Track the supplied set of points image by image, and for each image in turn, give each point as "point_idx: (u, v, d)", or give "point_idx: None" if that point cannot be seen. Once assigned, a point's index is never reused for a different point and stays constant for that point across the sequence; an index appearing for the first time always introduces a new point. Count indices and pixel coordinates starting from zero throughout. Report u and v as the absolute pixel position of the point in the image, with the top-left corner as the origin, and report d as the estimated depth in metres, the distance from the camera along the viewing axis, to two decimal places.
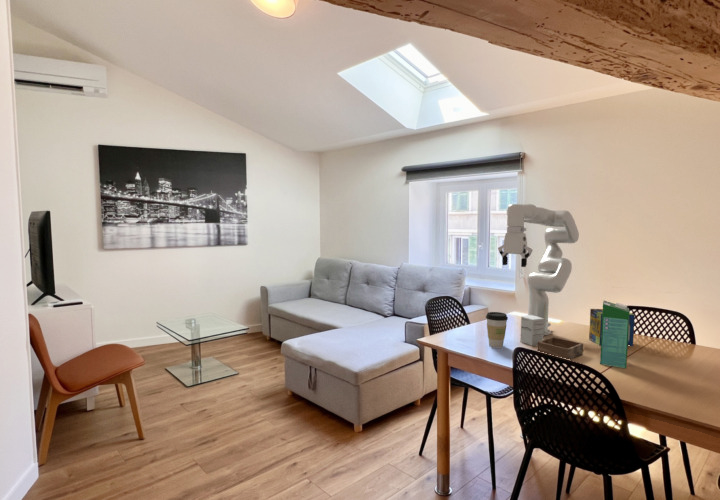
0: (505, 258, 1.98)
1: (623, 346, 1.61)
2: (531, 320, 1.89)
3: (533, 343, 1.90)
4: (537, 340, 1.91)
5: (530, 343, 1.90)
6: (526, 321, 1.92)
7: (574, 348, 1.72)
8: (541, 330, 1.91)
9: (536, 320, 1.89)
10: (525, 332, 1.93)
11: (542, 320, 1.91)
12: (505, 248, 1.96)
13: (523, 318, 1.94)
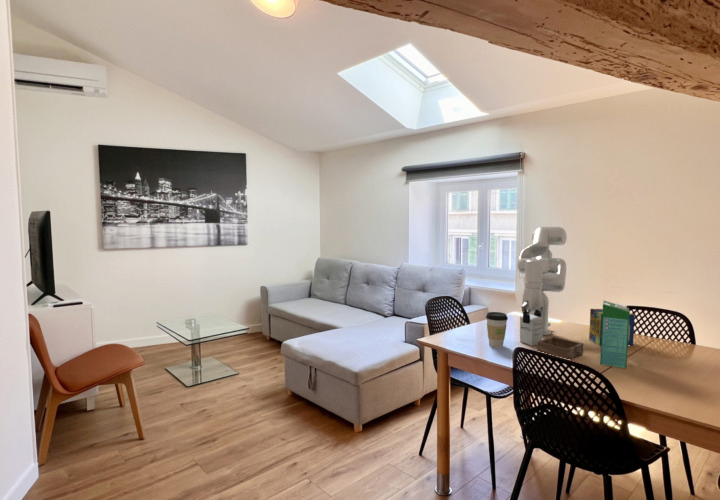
0: None
1: (623, 346, 1.61)
2: (530, 320, 1.89)
3: (533, 343, 1.90)
4: (537, 340, 1.91)
5: (530, 343, 1.90)
6: None
7: (574, 348, 1.72)
8: (540, 329, 1.91)
9: (535, 320, 1.89)
10: (524, 332, 1.93)
11: (541, 319, 1.91)
12: (532, 305, 1.88)
13: (522, 318, 1.93)
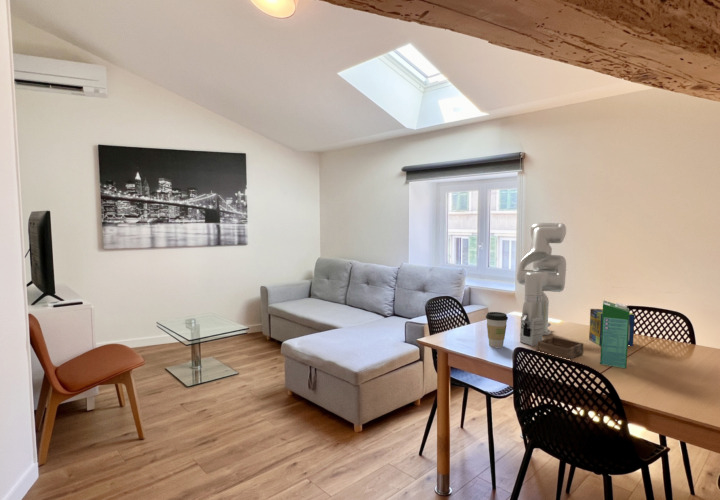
0: None
1: (623, 346, 1.61)
2: None
3: (533, 343, 1.90)
4: (537, 340, 1.91)
5: (531, 343, 1.90)
6: None
7: (574, 348, 1.72)
8: (541, 330, 1.91)
9: (536, 320, 1.89)
10: None
11: (542, 320, 1.91)
12: (532, 318, 1.89)
13: None
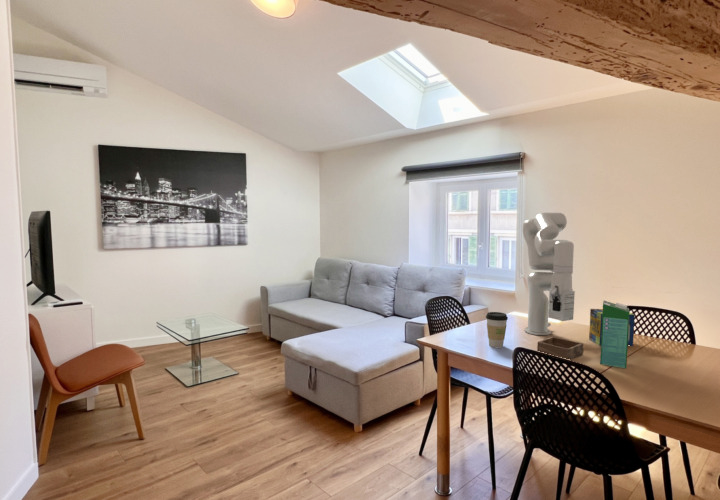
0: None
1: (623, 346, 1.61)
2: (562, 293, 1.73)
3: (564, 318, 1.73)
4: (568, 315, 1.74)
5: (561, 318, 1.73)
6: None
7: (574, 348, 1.72)
8: (572, 304, 1.75)
9: (567, 293, 1.73)
10: None
11: (573, 293, 1.75)
12: (563, 291, 1.73)
13: None
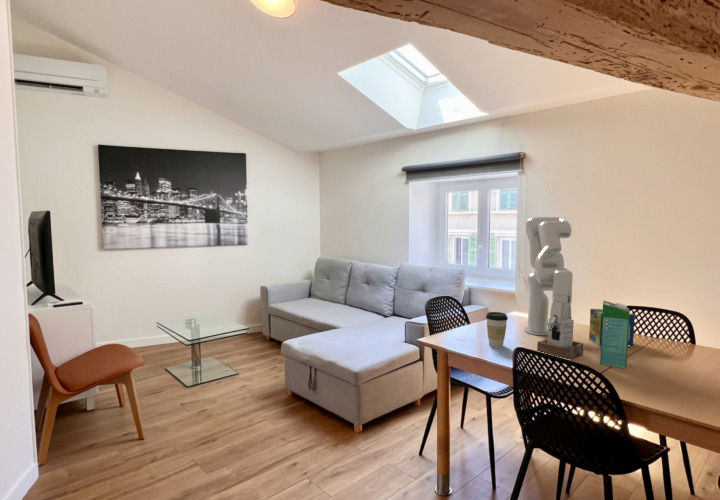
0: None
1: (623, 346, 1.61)
2: (561, 322, 1.73)
3: (563, 347, 1.74)
4: (567, 344, 1.75)
5: None
6: None
7: (574, 348, 1.72)
8: (571, 333, 1.76)
9: (566, 322, 1.74)
10: None
11: (572, 322, 1.75)
12: (562, 320, 1.74)
13: None
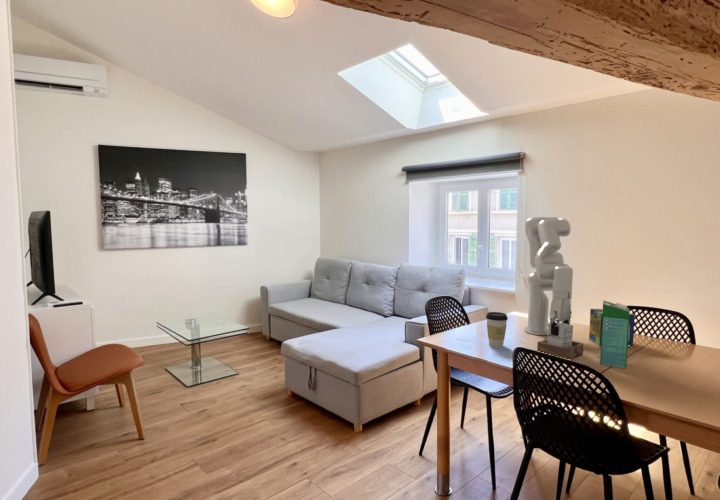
0: None
1: (623, 346, 1.61)
2: (561, 327, 1.74)
3: None
4: None
5: None
6: None
7: (574, 348, 1.72)
8: (570, 338, 1.76)
9: (566, 327, 1.74)
10: (553, 340, 1.77)
11: (571, 327, 1.76)
12: (561, 316, 1.74)
13: None
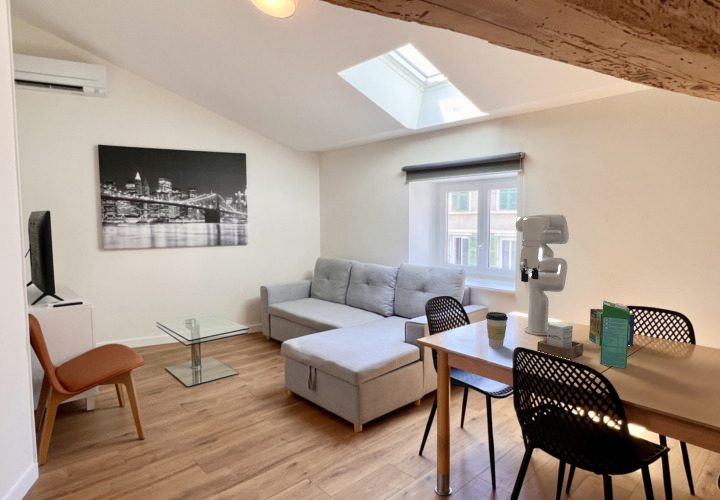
0: None
1: (623, 346, 1.61)
2: (561, 328, 1.73)
3: None
4: None
5: None
6: (554, 329, 1.76)
7: (574, 348, 1.72)
8: (570, 338, 1.76)
9: (566, 328, 1.74)
10: (553, 340, 1.77)
11: (571, 327, 1.76)
12: (531, 264, 1.86)
13: (550, 326, 1.77)
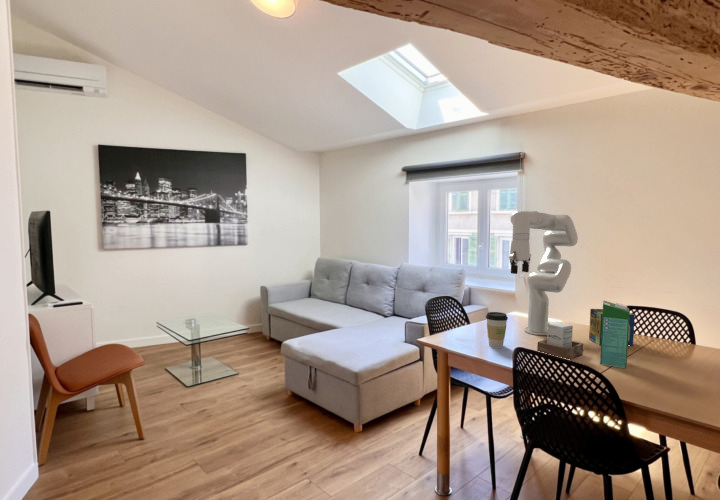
0: None
1: (623, 346, 1.61)
2: (561, 328, 1.73)
3: None
4: None
5: None
6: (554, 329, 1.76)
7: (574, 348, 1.72)
8: (570, 338, 1.76)
9: (566, 328, 1.74)
10: (553, 340, 1.77)
11: (571, 327, 1.76)
12: (520, 256, 1.91)
13: (550, 326, 1.77)
